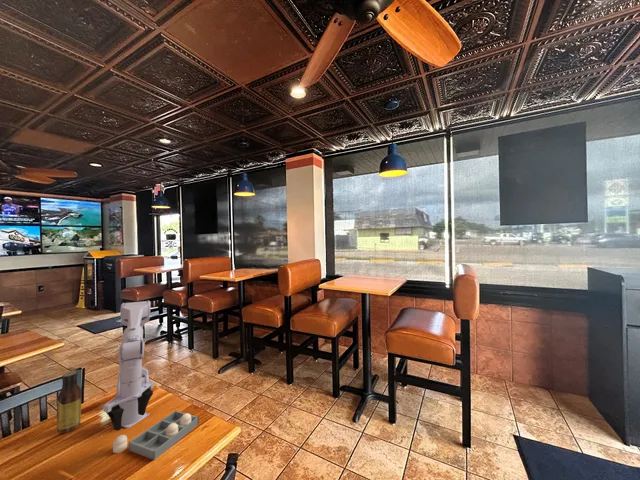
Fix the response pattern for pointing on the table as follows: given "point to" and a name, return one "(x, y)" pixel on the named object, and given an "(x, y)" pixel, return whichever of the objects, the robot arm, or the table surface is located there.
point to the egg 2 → (172, 430)
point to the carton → (161, 436)
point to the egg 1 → (120, 444)
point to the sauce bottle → (69, 403)
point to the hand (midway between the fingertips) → (129, 421)
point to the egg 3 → (185, 419)
